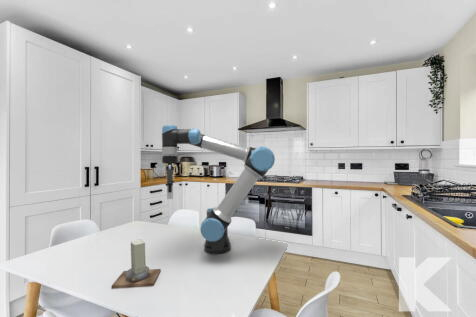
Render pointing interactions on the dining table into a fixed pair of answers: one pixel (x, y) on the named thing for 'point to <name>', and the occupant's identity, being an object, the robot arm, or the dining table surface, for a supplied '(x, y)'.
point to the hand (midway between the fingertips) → (170, 196)
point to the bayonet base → (137, 284)
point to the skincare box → (138, 256)
